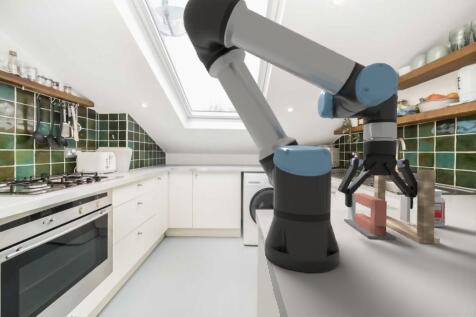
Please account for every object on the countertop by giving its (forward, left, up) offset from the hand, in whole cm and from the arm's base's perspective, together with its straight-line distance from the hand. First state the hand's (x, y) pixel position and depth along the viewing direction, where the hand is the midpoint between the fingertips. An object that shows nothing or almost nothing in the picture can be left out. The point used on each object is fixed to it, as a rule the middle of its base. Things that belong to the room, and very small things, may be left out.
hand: (378, 220), depth 59 cm
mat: (0, +6, -4) cm, 7 cm away
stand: (+10, +8, -4) cm, 14 cm away
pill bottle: (+23, +13, -4) cm, 27 cm away
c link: (0, +5, -4) cm, 7 cm away
